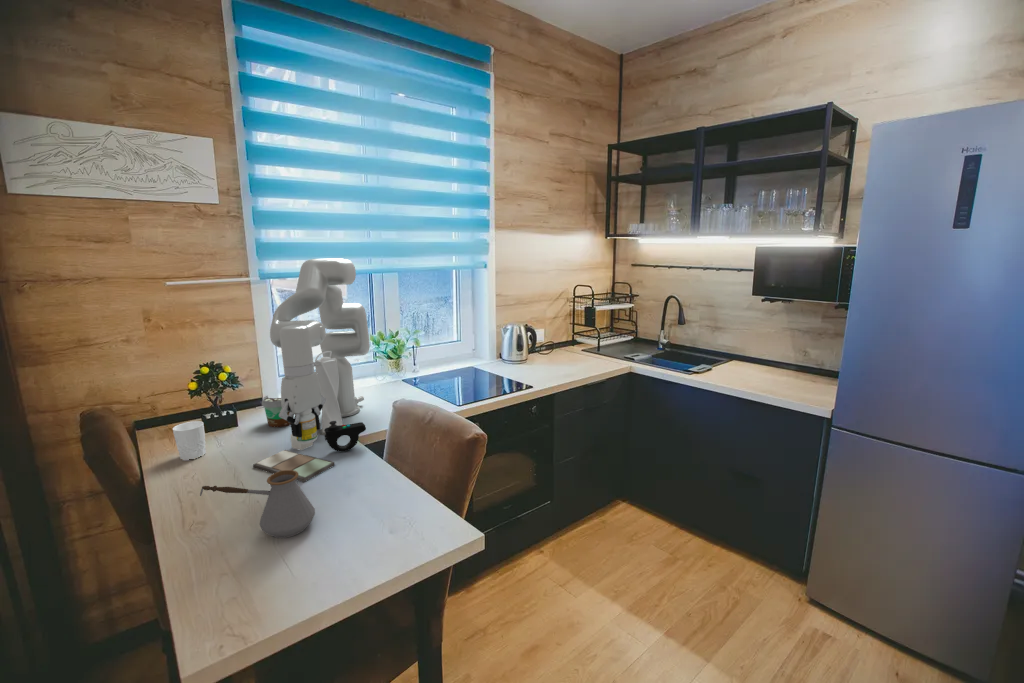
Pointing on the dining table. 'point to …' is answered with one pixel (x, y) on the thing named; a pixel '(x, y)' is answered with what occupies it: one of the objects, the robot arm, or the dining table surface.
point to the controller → (342, 430)
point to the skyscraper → (328, 391)
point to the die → (299, 445)
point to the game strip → (294, 464)
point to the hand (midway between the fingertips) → (306, 431)
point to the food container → (274, 412)
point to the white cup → (190, 439)
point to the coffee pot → (280, 504)
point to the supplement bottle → (307, 427)
